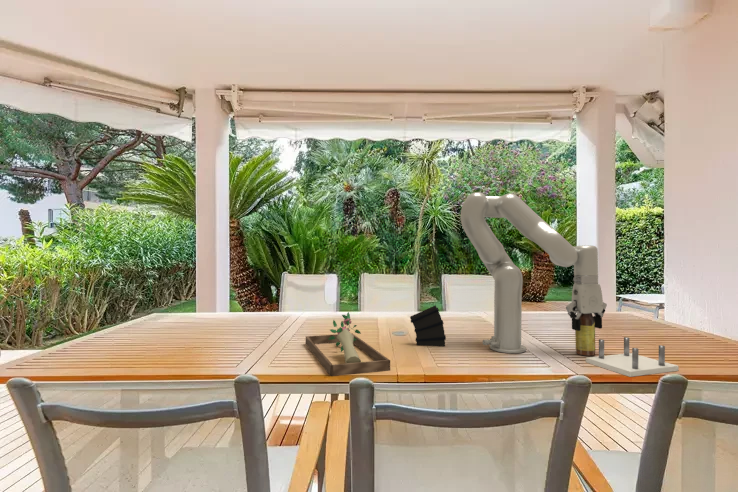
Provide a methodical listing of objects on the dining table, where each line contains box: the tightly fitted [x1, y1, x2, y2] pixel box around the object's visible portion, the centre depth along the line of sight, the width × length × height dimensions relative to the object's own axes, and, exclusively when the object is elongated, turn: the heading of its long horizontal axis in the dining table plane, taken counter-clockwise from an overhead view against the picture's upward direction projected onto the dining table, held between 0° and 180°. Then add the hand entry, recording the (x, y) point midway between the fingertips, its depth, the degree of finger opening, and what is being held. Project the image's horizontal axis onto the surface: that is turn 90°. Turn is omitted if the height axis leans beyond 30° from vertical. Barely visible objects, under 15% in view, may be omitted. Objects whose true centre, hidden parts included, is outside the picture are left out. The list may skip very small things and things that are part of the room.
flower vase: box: [328, 311, 362, 364], centre depth 144 cm, size 12×12×35 cm
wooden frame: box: [305, 332, 391, 377], centre depth 144 cm, size 19×41×3 cm, turn 19°
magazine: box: [409, 304, 447, 347], centre depth 160 cm, size 4×13×15 cm, turn 83°
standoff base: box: [585, 336, 679, 378], centre depth 134 cm, size 20×16×8 cm
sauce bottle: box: [574, 313, 596, 357], centre depth 148 cm, size 7×6×20 cm
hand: (587, 328), depth 148 cm, fingers open, 9 cm apart
